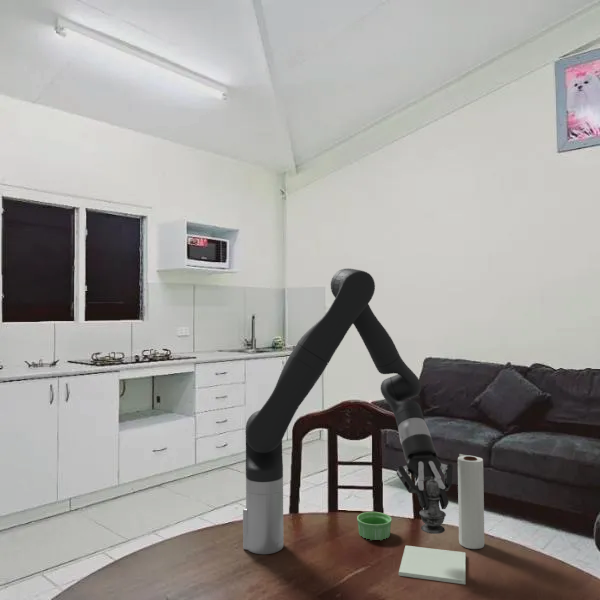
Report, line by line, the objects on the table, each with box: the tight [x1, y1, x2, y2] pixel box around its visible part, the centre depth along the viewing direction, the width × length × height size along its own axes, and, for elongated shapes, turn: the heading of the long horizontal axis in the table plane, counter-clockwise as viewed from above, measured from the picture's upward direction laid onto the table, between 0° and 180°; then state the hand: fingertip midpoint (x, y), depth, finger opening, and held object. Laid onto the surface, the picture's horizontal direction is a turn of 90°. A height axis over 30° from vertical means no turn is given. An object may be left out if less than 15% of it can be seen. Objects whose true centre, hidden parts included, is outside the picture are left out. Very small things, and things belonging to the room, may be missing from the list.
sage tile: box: [398, 545, 466, 585], centre depth 123 cm, size 14×14×1 cm
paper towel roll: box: [457, 453, 485, 550], centre depth 134 cm, size 7×6×21 cm
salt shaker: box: [419, 477, 447, 535], centre depth 123 cm, size 6×6×12 cm
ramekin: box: [356, 511, 392, 541], centre depth 140 cm, size 9×9×4 cm
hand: (435, 507), depth 121 cm, fingers closed on salt shaker, 3 cm apart
